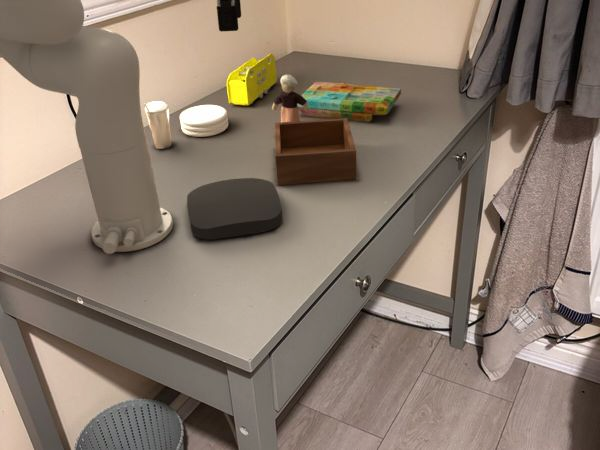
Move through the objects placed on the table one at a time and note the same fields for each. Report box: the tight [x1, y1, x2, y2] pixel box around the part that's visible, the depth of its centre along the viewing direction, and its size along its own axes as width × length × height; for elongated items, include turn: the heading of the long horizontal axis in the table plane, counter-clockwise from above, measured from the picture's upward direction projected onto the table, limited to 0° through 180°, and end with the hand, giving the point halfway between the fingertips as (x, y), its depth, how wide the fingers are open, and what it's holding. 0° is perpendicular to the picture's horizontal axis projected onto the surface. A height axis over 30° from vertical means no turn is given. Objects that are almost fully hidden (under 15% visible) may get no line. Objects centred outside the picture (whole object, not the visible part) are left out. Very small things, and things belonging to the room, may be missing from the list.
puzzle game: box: [297, 81, 402, 122], centre depth 138 cm, size 12×5×20 cm
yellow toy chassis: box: [225, 53, 277, 106], centre depth 148 cm, size 16×6×8 cm, turn 158°
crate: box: [274, 118, 357, 186], centre depth 116 cm, size 15×14×6 cm
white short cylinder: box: [179, 104, 229, 138], centre depth 134 cm, size 10×10×4 cm
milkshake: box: [143, 100, 172, 150], centre depth 126 cm, size 4×5×10 cm
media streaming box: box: [186, 177, 284, 240], centre depth 103 cm, size 15×15×3 cm
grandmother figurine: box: [271, 74, 310, 123], centre depth 126 cm, size 8×4×13 cm, turn 86°
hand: (230, 24), depth 110 cm, fingers open, 9 cm apart
